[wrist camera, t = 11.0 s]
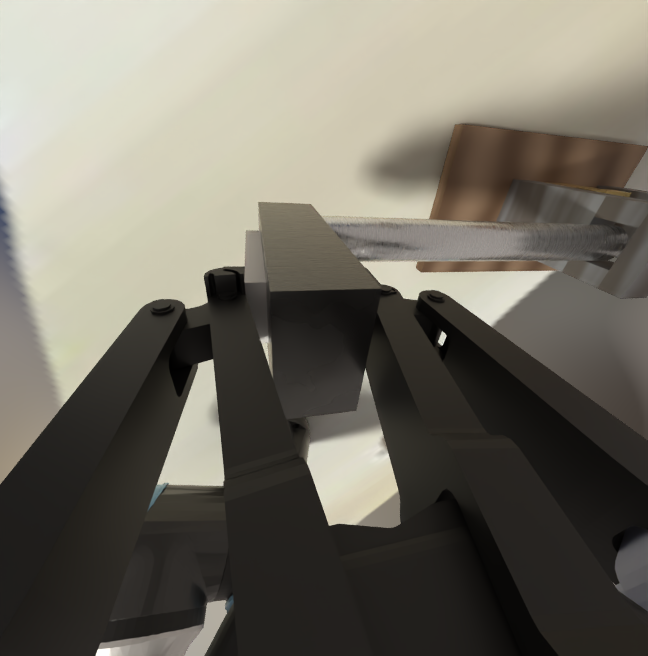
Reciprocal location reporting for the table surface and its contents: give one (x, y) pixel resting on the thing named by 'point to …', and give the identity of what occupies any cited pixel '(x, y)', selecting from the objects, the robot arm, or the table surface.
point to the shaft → (373, 285)
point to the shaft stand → (546, 198)
